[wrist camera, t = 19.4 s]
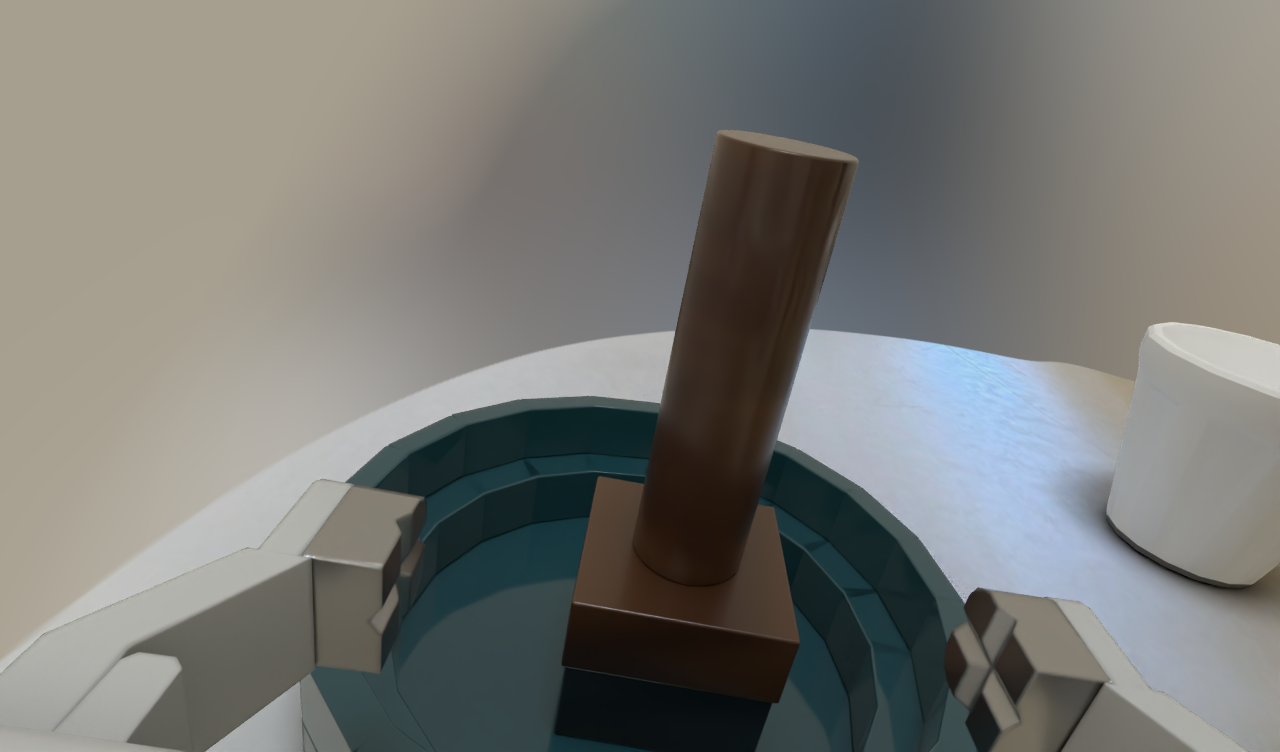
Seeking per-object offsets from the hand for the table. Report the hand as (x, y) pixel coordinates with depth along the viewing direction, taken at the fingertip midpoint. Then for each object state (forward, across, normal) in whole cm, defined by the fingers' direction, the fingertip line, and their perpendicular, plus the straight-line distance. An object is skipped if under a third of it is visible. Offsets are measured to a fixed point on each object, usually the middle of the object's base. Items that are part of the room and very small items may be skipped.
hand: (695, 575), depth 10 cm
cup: (+19, -26, +10) cm, 34 cm away
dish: (+6, 0, +10) cm, 12 cm away
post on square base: (+6, -1, +9) cm, 11 cm away
